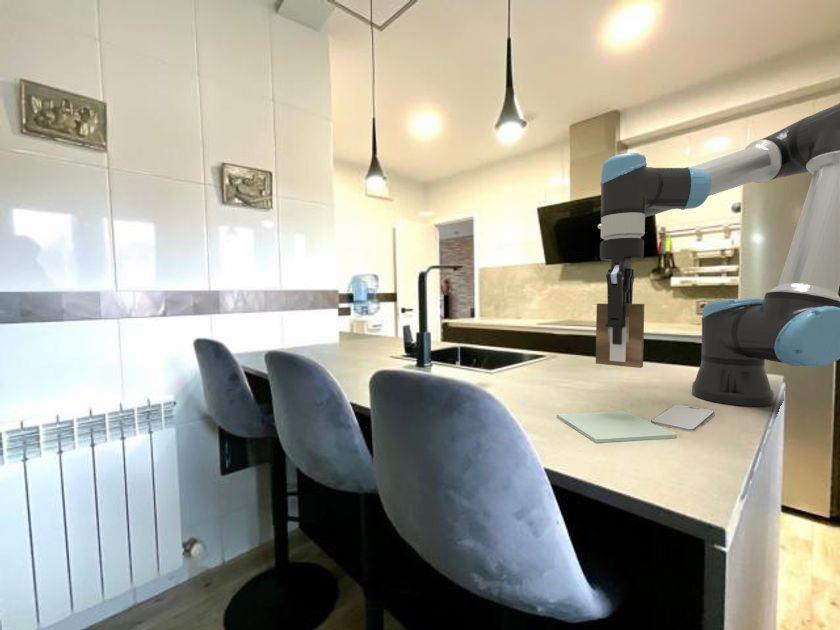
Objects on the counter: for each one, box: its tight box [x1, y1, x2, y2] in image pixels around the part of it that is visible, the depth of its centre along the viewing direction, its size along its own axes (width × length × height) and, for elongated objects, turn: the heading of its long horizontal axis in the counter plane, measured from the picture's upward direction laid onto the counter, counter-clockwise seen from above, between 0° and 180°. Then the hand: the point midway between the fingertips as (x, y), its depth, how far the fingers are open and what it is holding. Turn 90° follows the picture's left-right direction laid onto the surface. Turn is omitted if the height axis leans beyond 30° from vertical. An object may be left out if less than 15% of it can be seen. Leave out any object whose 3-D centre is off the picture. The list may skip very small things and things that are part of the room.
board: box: [595, 303, 645, 369], centre depth 76 cm, size 2×8×12 cm, turn 52°
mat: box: [556, 410, 678, 444], centre depth 74 cm, size 15×14×1 cm
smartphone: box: [650, 404, 715, 433], centre depth 78 cm, size 7×1×15 cm
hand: (619, 359), depth 76 cm, fingers closed on board, 2 cm apart
